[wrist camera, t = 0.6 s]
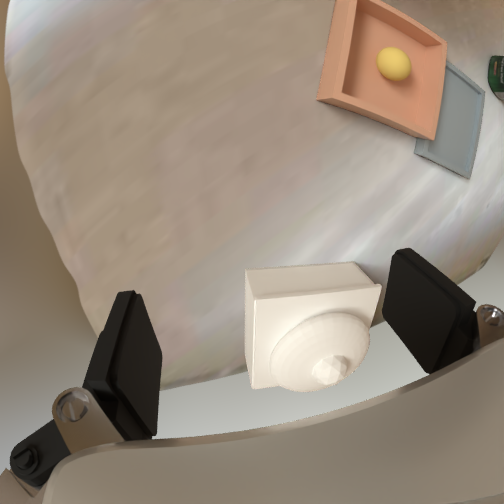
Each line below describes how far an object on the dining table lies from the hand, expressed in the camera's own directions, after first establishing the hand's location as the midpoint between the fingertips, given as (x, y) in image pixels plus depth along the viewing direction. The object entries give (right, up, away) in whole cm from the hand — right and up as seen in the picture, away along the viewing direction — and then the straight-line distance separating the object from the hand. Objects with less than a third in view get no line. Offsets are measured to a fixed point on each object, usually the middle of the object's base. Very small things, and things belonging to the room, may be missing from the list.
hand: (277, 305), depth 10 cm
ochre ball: (+17, +28, +20) cm, 39 cm away
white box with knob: (+7, -8, +37) cm, 38 cm away
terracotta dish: (+17, +28, +21) cm, 39 cm away
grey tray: (+33, +25, +26) cm, 48 cm away
